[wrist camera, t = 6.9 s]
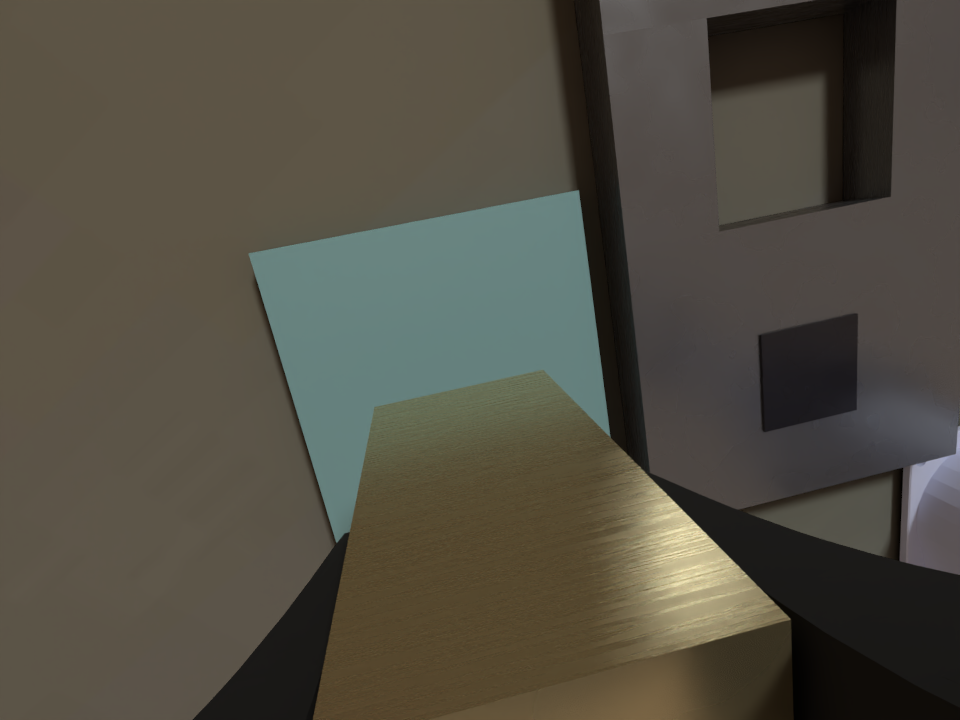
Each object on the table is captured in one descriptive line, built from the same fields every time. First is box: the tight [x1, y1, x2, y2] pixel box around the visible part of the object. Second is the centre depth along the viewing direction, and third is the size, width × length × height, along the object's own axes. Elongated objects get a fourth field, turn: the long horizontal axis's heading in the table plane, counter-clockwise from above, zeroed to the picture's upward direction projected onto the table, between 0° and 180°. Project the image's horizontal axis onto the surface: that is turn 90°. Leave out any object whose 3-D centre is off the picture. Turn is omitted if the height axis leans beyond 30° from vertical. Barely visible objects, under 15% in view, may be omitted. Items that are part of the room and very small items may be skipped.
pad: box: [249, 190, 610, 543], centre depth 19 cm, size 12×11×1 cm
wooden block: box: [313, 370, 794, 720], centre depth 8 cm, size 4×4×8 cm
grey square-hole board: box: [574, 0, 960, 510], centre depth 18 cm, size 22×13×2 cm, turn 11°
